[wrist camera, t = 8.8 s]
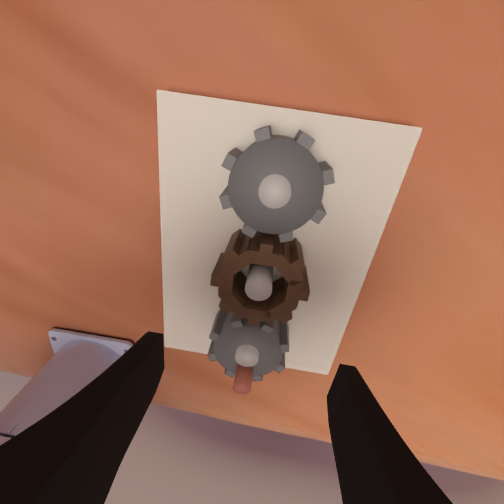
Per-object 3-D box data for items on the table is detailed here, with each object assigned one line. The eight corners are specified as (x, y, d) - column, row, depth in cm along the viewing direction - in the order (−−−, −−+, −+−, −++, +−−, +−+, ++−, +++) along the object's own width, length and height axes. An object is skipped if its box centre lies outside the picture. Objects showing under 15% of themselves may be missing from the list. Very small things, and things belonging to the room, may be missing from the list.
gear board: (325, 360, 24) (336, 424, 19) (170, 334, 24) (142, 390, 19) (410, 126, 15) (473, 132, 10) (167, 91, 16) (113, 81, 11)
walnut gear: (296, 304, 20) (298, 333, 17) (217, 291, 20) (207, 318, 17) (314, 231, 17) (321, 253, 14) (224, 217, 17) (213, 235, 15)
